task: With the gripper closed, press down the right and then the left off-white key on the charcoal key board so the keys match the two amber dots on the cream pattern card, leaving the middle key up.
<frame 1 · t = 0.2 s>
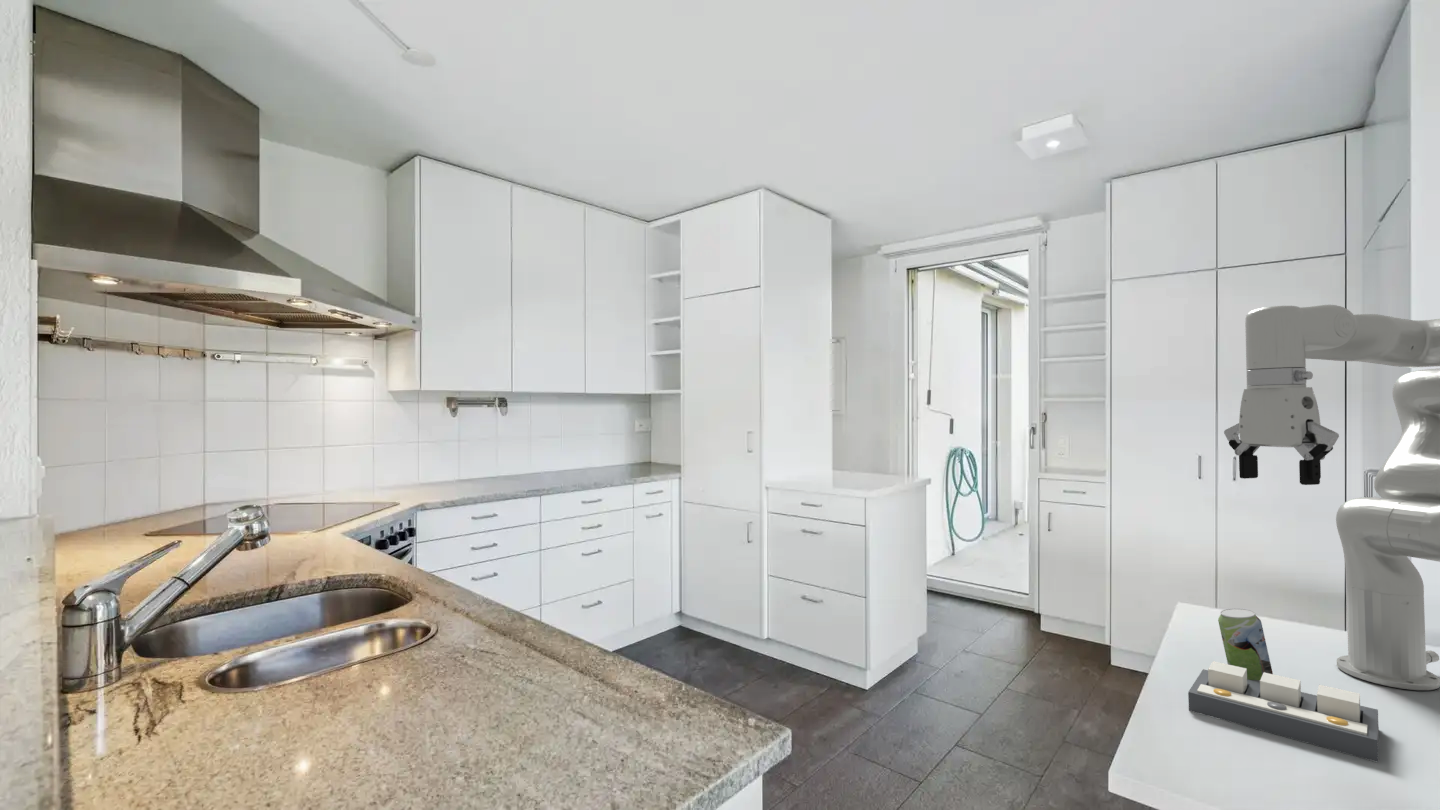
hand: (1278, 481, 105), 36 cm above the countertop, tool pointing down, fingers open, 9 cm apart
key board: (1280, 719, 97), on the countertop
middle key: (1280, 690, 98), point 4 cm above the countertop, slide at 0.0 cm
right key: (1338, 703, 93), point 4 cm above the countertop, slide at 0.0 cm
left key: (1227, 677, 103), point 4 cm above the countertop, slide at 0.0 cm
beverage can: (1246, 679, 111), on the countertop
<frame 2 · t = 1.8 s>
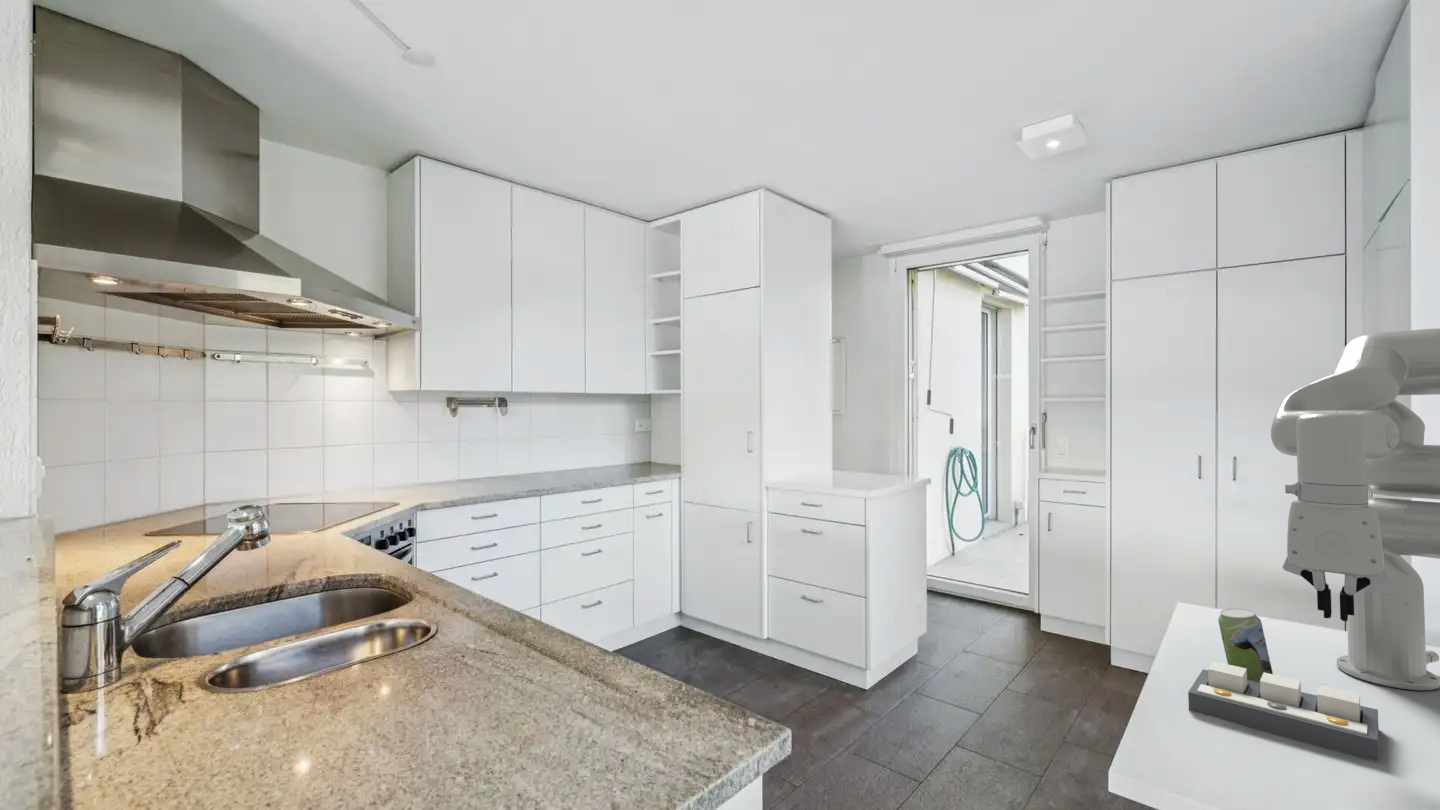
hand: (1335, 616, 93), 17 cm above the countertop, tool pointing down, fingers closed
nothing on the countertop moved.
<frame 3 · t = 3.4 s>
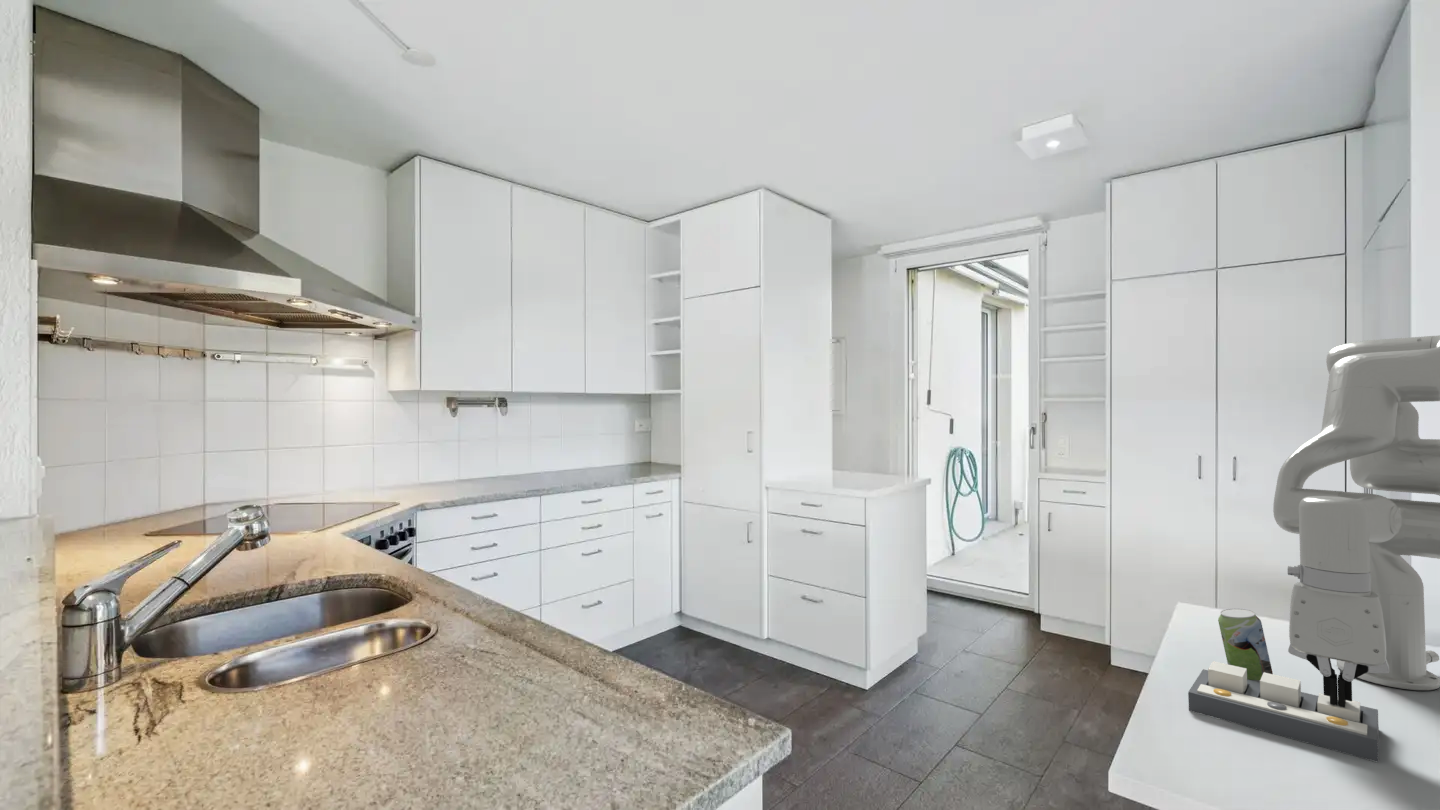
hand: (1338, 702, 93), 4 cm above the countertop, tool pointing down, fingers closed
right key: (1338, 712, 93), point 3 cm above the countertop, slide at 1.3 cm, touching gripper
everything else where it was.
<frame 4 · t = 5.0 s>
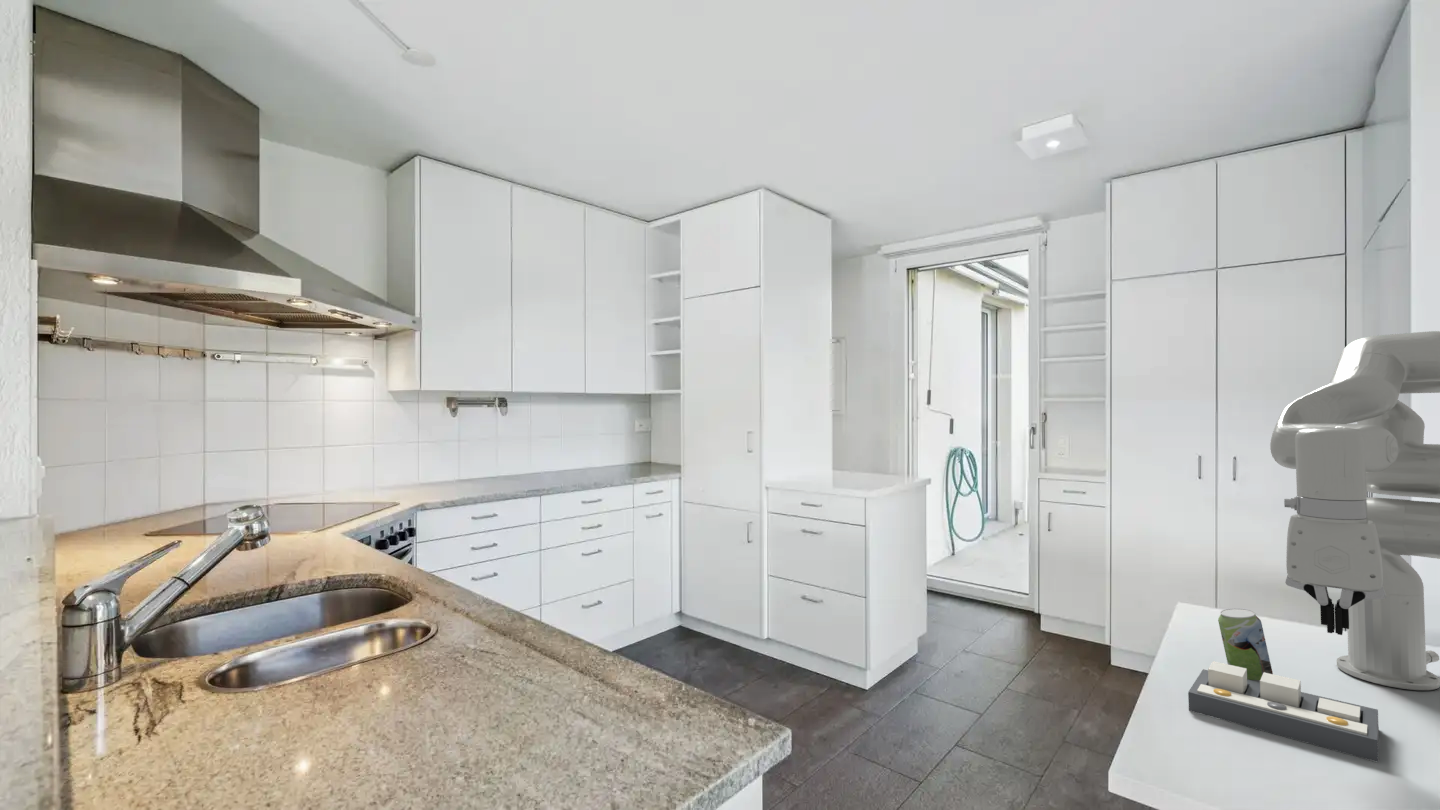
hand: (1335, 631, 93), 15 cm above the countertop, tool pointing down, fingers closed
right key: (1339, 717, 93), point 2 cm above the countertop, slide at 2.0 cm
everything else where it was.
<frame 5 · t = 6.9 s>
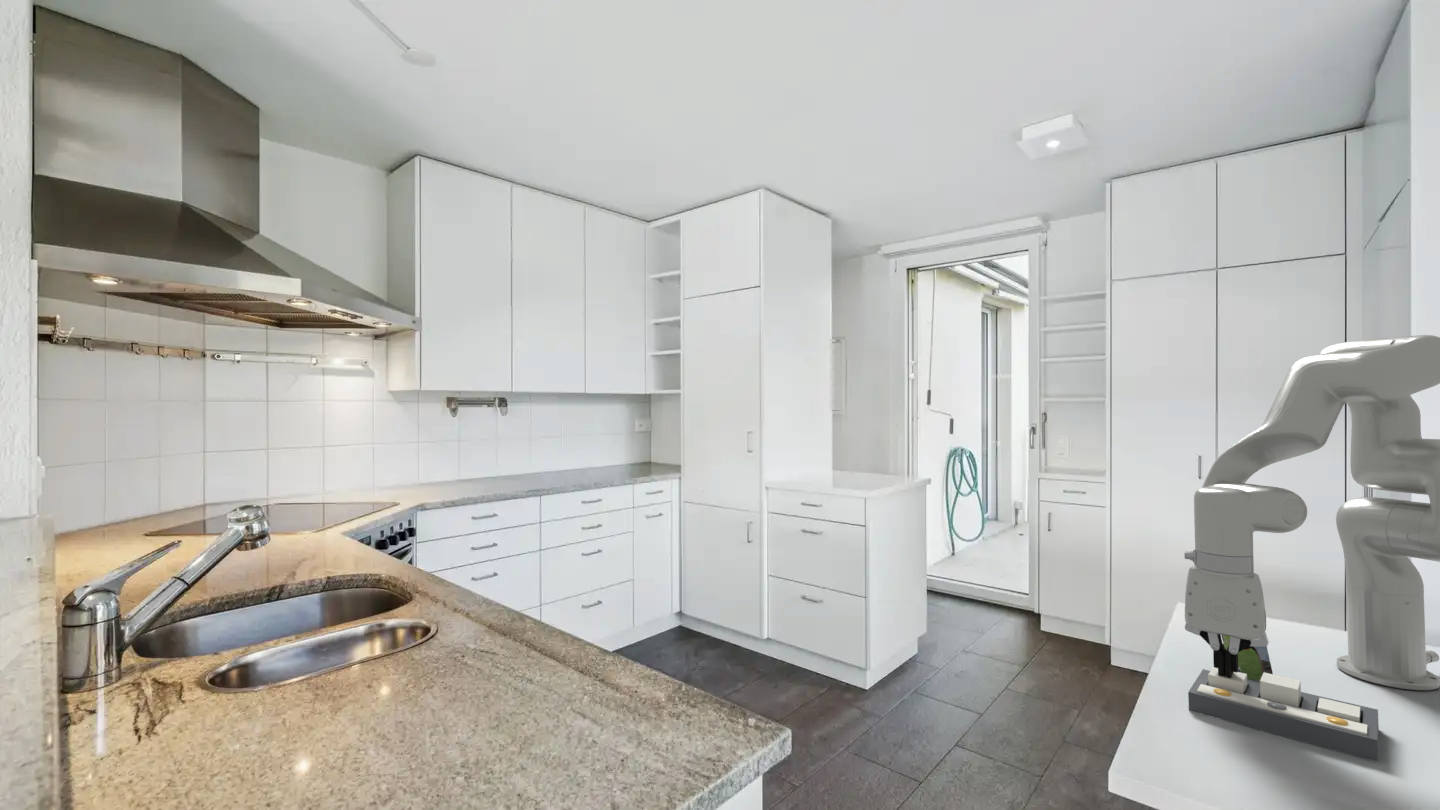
hand: (1226, 674, 102), 5 cm above the countertop, tool pointing down, fingers closed
left key: (1227, 683, 103), point 3 cm above the countertop, slide at 0.9 cm, touching gripper
everything else where it was.
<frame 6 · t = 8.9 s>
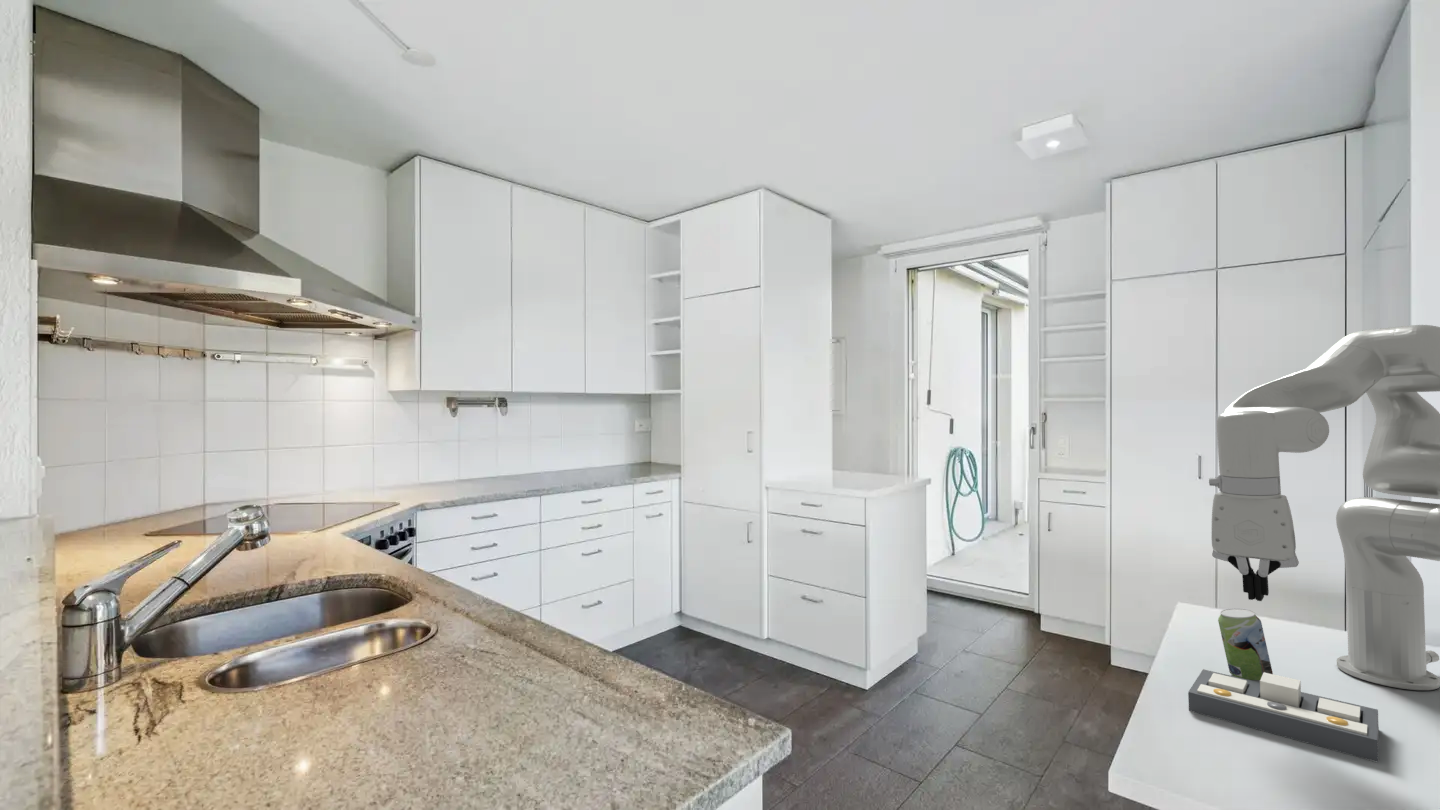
hand: (1256, 598, 101), 17 cm above the countertop, tool pointing down, fingers closed
left key: (1228, 689, 103), point 2 cm above the countertop, slide at 2.0 cm
everything else where it was.
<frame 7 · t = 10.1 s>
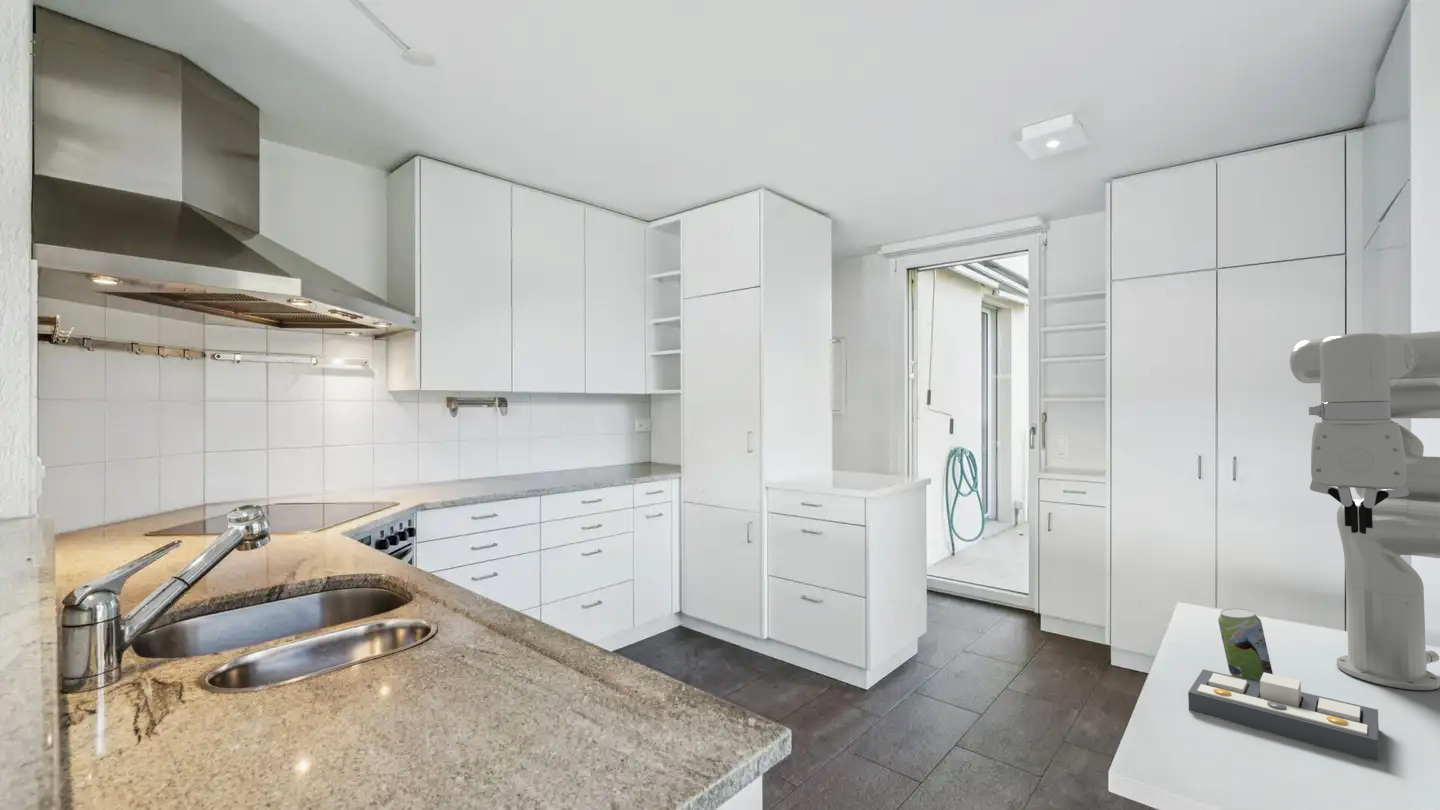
hand: (1358, 531, 96), 29 cm above the countertop, tool pointing down, fingers closed
nothing on the countertop moved.
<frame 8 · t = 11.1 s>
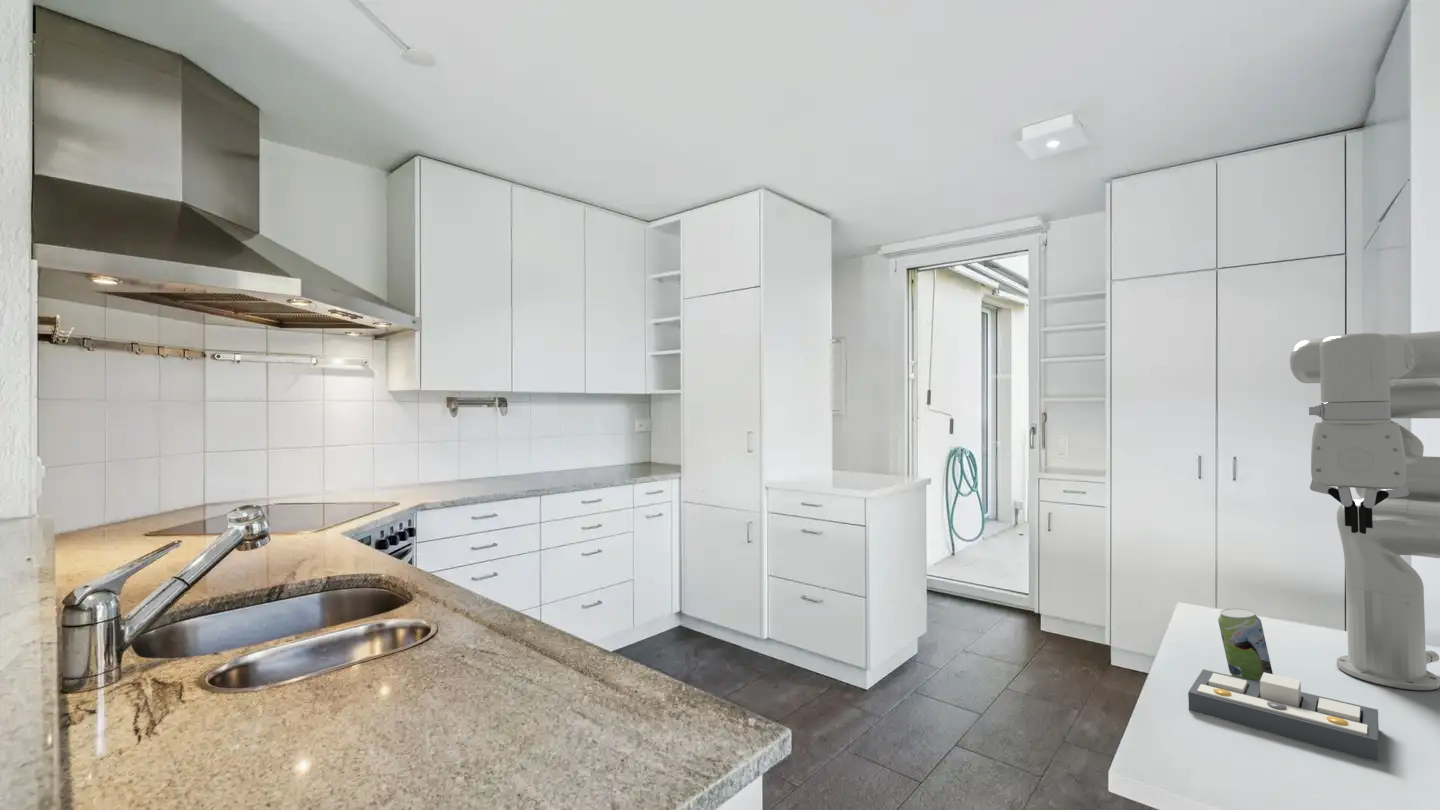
hand: (1358, 531, 96), 29 cm above the countertop, tool pointing down, fingers closed
nothing on the countertop moved.
at the end: left key slide at 2.0 cm; right key slide at 2.0 cm; middle key slide at 0.0 cm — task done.
